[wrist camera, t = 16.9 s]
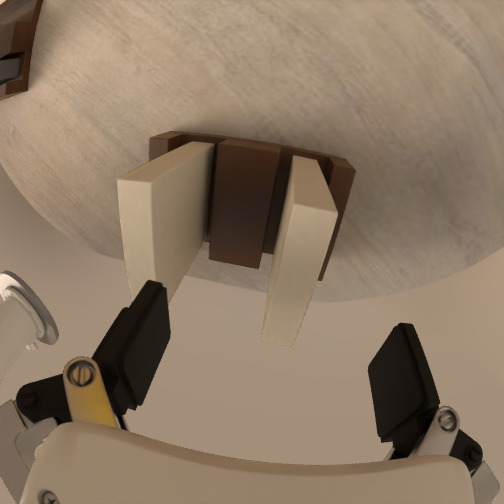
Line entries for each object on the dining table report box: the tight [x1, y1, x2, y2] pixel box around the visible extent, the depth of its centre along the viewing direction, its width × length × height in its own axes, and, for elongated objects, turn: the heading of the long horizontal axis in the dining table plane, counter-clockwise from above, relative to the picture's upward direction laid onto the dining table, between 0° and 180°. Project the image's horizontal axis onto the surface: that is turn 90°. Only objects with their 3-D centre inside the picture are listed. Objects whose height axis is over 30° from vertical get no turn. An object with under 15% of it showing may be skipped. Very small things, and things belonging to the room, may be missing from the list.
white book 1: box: [117, 141, 214, 304], centre depth 17 cm, size 8×2×10 cm, turn 172°
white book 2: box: [261, 155, 338, 347], centre depth 16 cm, size 2×8×10 cm, turn 172°
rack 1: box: [0, 0, 43, 101], centre depth 13 cm, size 14×10×4 cm
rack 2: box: [149, 131, 356, 281], centre depth 20 cm, size 9×14×4 cm, turn 82°
